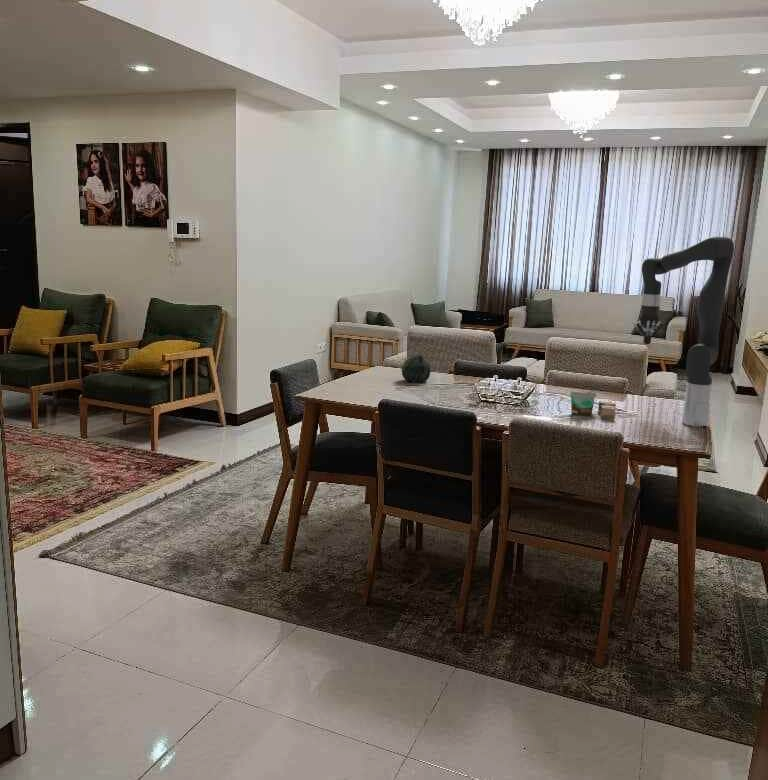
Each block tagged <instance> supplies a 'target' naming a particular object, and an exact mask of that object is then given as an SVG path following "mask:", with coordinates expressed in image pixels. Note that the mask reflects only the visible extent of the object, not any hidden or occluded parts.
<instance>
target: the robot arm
mask: <svg viewBox="0 0 768 780" xmlns="http://www.w3.org/2000/svg"><path fill="white" fill-rule="evenodd" d="M734 252H735V243H734V241H733V240H732V239H731V238H730V237H727V236H710V237H708V238H704V239H703V240H701V241H699V242H698V243H696V244H693V245H691V246H689V247H687V248H684V249H680V250H677V251H673V252H670V253H667V254H665V255H663V256H662V257H649V258H645V260H643V263H642V265H641V274H642V278H643V279H642V281H643V292H642V293H643V294H642V299H641V307H640V309H641V310H640V317H639V320H638V321H637V322H634V323H633V325H634V326H635V329H636V330H637V331H638V332H639V334H640V335H643V340H642V341H643V344H644V345H650V344H651V342H652V336H654V335H657V334H658V333H659V331H660V330H661V329H662V328H663V327H664V325H665V324H664V323H662V322H661V321H660V318H659V316H660V310H661V309H660V308H661V291H662V282H661V281H659V280H657V279H656V276H657V275H663V274H666V273H668V272H670V271H673V270H678V269H682V268H684V267H687V266H688V265H690V264H691V263H693V262H699V261H712V262H713V263H712V267H711V268H712V269H711V273H710V275H709V277H708V279H707V280H706V281H705V283H704V285H703V287H702V289H701V290H700V292H699V296H698V304H697V319H698V322H699V329H700V330H699V337H698V343H697V344H695V345H693V346H691V347H690V348H689V350H688V351H687V357H686V364H685V366H686V368H685V375H686V387H685V393H684V394H685V395H684V403H683V410H682V411H683V414H682V421H681V423H682V424H683V423H684V424H683V425H685V426H689V427H693V428H695V427H696V428H697V427H703V426H706V427H707V428H708V425H709V424H708V423H709V416H710V415H709V414H710V407H711V404H710V400H711V399H710V397H711V391H712V390H711V389H712V384H713V377H712V376H711V375H710V367H711V365H713V364H714V363H716V361H717V359H718V356H719V337H720V328H721V323H722V316H723V310H724V304H725V298H726V297H725V296H726V289H727V283H728V278H729V272H730V268H731V264H732V261H733V258H734V257H733V256H734Z"/></svg>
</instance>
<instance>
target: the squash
mask: <svg viewBox="0 0 768 780" xmlns="http://www.w3.org/2000/svg"><path fill="white" fill-rule="evenodd" d="M431 369H432V367H431V365H430V362H429V361H428V360H427V359H426V358H425V357H424V356H423V355H422V354H417V355H414V356H412V357H409V358H408V359H406V360H405V361H404V363H403V365H402V367H401V375H402V378H403V379H404V381H405V380H406V381H407V380H410V381H409V382H417V381H419V382H418V383H424V382H423V381H425V382H427V381H428V379H429V378H430V376H431V371H432V370H431Z"/></svg>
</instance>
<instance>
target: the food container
mask: <svg viewBox="0 0 768 780" xmlns="http://www.w3.org/2000/svg"><path fill="white" fill-rule="evenodd" d="M569 396H570V398H571V399H570V401H571V405H570V406H571V407H570V408H571V410H570V411H571V413H570V414H571V415H575V416H581V417H582V416H583V417H584V416H585V417H586V416H587V417H589V416H591V415H593V409H594V404H595V398H597V391H596V390H595V389H592V390H591V391H578V392H577V391H573V390H572V391H571V392H570V394H569Z"/></svg>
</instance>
